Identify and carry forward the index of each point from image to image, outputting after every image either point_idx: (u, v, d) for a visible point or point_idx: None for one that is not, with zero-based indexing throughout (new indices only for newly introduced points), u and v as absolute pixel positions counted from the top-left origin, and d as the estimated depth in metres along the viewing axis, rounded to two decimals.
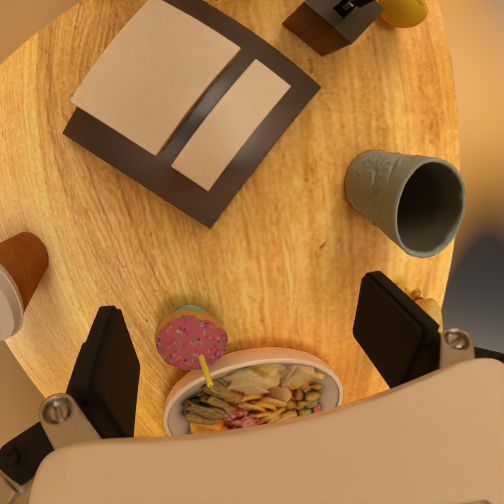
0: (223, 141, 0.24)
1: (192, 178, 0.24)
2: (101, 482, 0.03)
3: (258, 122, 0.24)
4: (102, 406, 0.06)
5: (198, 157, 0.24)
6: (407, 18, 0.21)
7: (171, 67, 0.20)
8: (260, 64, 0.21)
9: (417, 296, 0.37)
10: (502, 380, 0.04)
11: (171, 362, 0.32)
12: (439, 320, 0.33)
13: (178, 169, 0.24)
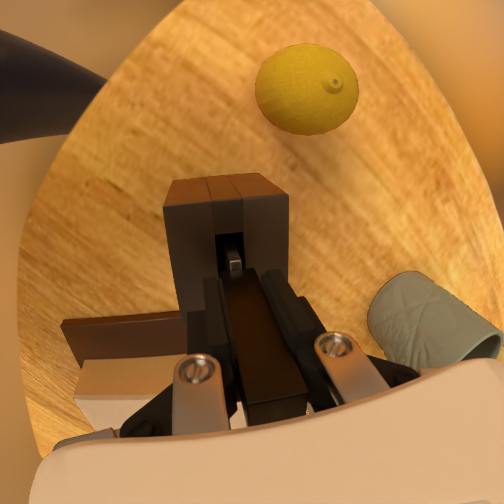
0: None
1: None
2: (101, 482, 0.03)
3: None
4: (232, 362, 0.08)
5: None
6: (332, 128, 0.14)
7: None
8: None
9: None
10: (502, 380, 0.04)
11: None
12: None
13: None
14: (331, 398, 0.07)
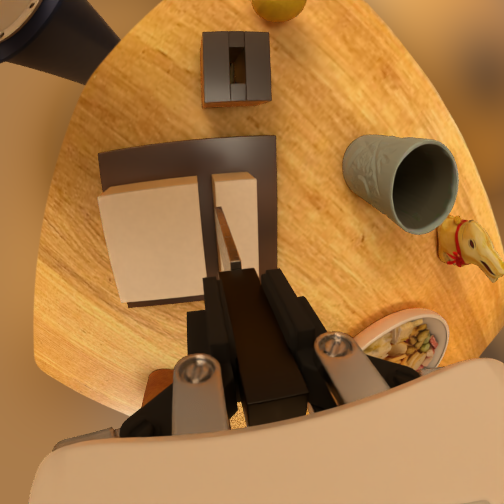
0: (243, 253, 0.31)
1: None
2: (101, 482, 0.03)
3: (256, 224, 0.29)
4: (232, 362, 0.08)
5: None
6: (293, 11, 0.21)
7: (166, 237, 0.28)
8: (221, 183, 0.27)
9: (459, 223, 0.36)
10: (502, 380, 0.04)
11: None
12: (485, 237, 0.32)
13: None
14: (331, 398, 0.07)
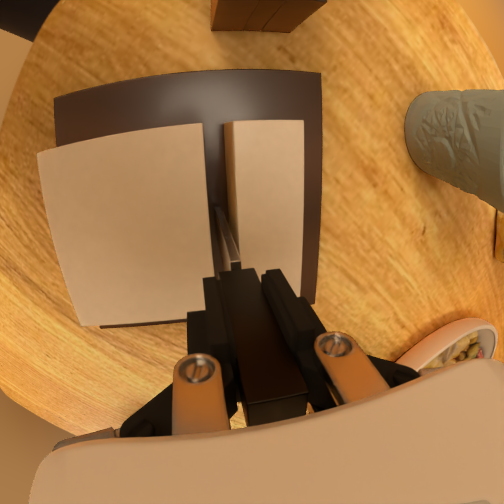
0: (279, 248, 0.18)
1: None
2: (101, 482, 0.03)
3: (301, 197, 0.17)
4: (232, 362, 0.08)
5: None
6: None
7: (145, 218, 0.16)
8: (245, 123, 0.15)
9: None
10: (502, 380, 0.04)
11: None
12: None
13: None
14: (331, 398, 0.07)
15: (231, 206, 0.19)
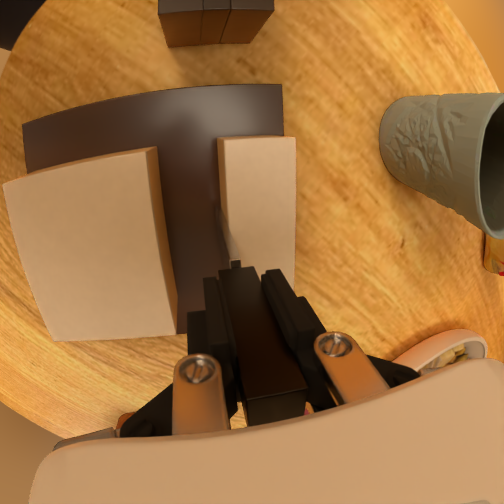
0: (271, 264, 0.18)
1: None
2: (101, 482, 0.03)
3: (293, 214, 0.17)
4: (232, 362, 0.08)
5: None
6: None
7: (99, 245, 0.16)
8: (236, 142, 0.15)
9: None
10: (502, 380, 0.04)
11: None
12: None
13: None
14: (331, 398, 0.07)
15: None
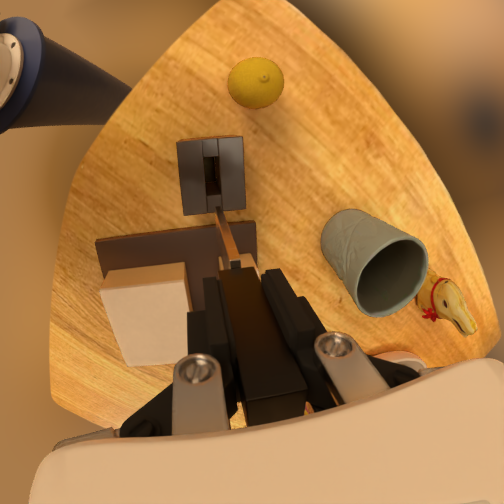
0: None
1: None
2: (101, 482, 0.03)
3: None
4: (232, 362, 0.08)
5: None
6: (269, 102, 0.25)
7: (160, 321, 0.32)
8: None
9: (435, 282, 0.40)
10: (502, 380, 0.04)
11: None
12: (458, 299, 0.36)
13: None
14: (331, 398, 0.07)
15: None
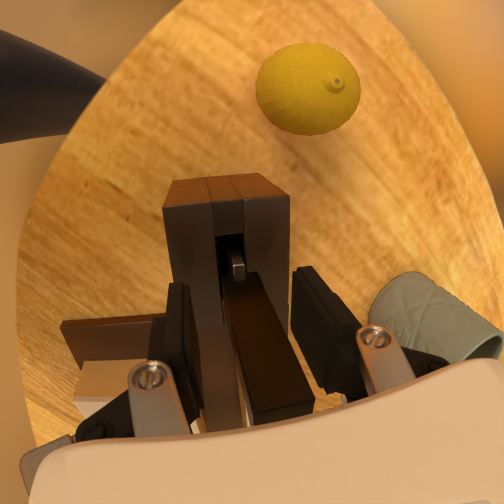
0: None
1: None
2: (101, 482, 0.03)
3: None
4: (189, 370, 0.08)
5: None
6: (334, 128, 0.14)
7: None
8: None
9: None
10: (502, 380, 0.04)
11: None
12: None
13: None
14: None
15: (242, 404, 0.25)
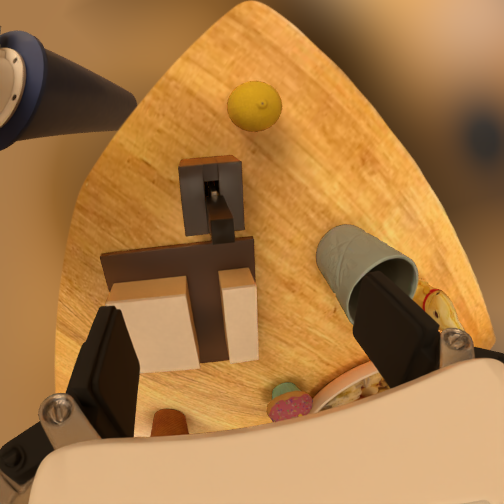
0: (246, 338, 0.37)
1: (245, 360, 0.39)
2: (101, 482, 0.03)
3: (256, 318, 0.36)
4: (102, 406, 0.06)
5: (240, 352, 0.38)
6: (267, 127, 0.27)
7: (163, 332, 0.34)
8: (227, 291, 0.34)
9: (427, 293, 0.42)
10: (502, 380, 0.04)
11: None
12: (449, 310, 0.38)
13: (235, 362, 0.38)
14: None
15: (223, 315, 0.38)
